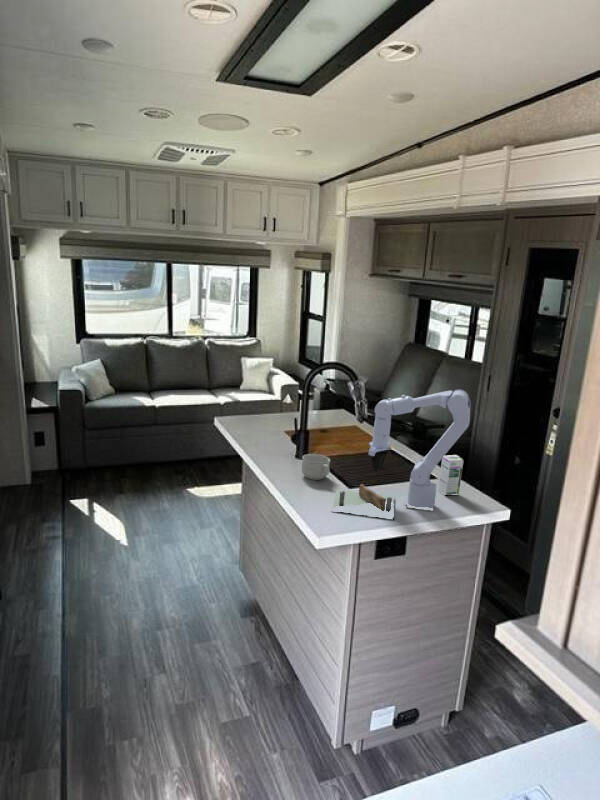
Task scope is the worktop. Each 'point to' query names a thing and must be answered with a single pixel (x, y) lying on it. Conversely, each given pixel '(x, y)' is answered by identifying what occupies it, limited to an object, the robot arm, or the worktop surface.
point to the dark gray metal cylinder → (342, 494)
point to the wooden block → (372, 497)
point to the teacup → (315, 466)
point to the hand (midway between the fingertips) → (377, 469)
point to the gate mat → (352, 498)
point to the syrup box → (450, 474)
